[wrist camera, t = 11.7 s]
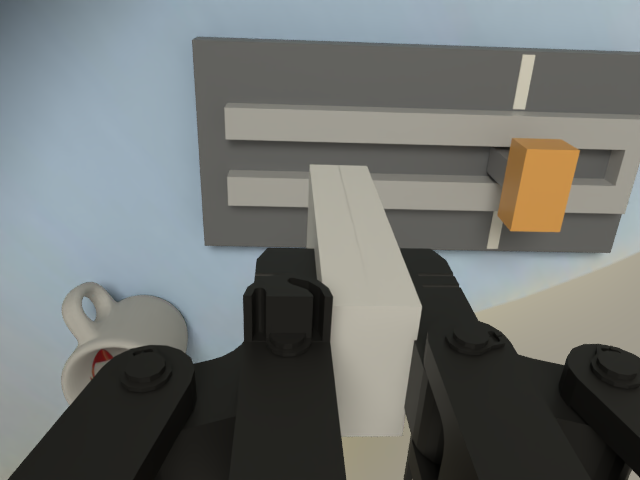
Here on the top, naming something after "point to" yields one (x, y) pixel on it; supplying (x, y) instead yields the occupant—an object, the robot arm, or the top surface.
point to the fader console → (409, 136)
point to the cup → (114, 331)
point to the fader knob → (533, 182)
